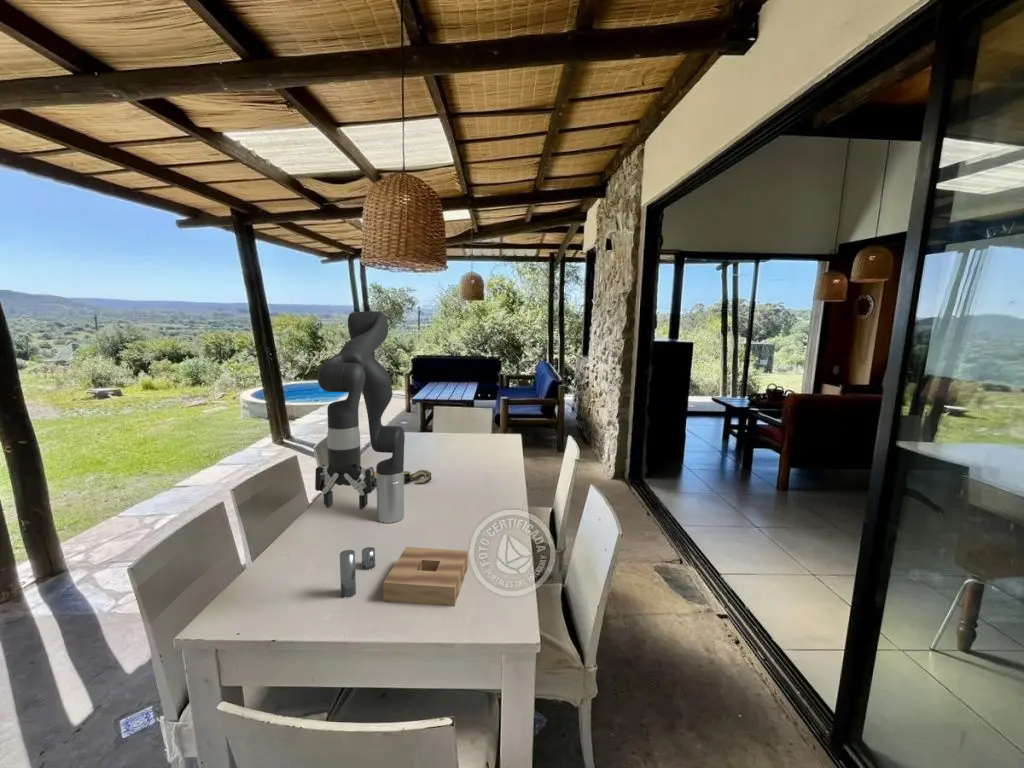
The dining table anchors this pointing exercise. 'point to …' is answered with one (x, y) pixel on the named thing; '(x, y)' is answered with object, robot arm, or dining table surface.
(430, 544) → the dining table surface
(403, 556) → the block
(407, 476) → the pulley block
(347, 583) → the long pin
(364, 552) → the short pin
